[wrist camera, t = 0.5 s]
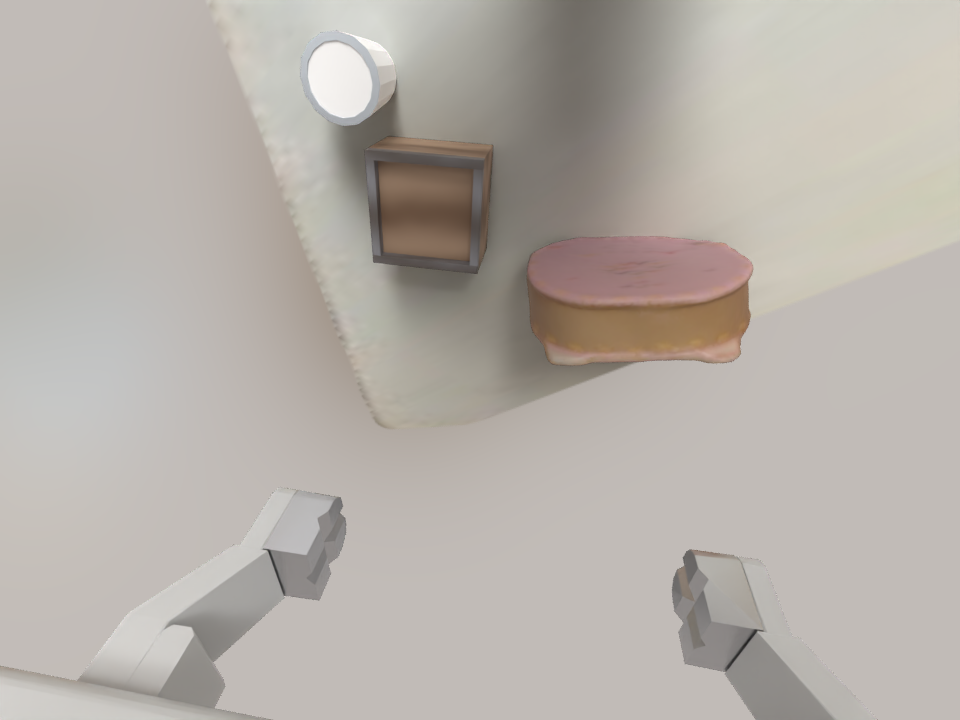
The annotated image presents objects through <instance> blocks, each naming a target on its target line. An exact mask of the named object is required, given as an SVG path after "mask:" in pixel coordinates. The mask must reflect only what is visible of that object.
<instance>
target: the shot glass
mask: <svg viewBox="0 0 960 720" xmlns="http://www.w3.org/2000/svg"><path fill="white" fill-rule="evenodd" d="M300 77H301V81H302V84H303V88H304V92H305V95H306V96H307V98H308V99H309V101H310V103H311V104H312V106H313V107H314V109H315V110H316V111H317V112H318V113H320V114H321V115H322V116H323V117H324V118H325V119H327V120H328V121H330V122H333V123H336V124H339V125H342V126H348V125H358V124H359V123H361V122H362V121H364V120H365V119H367V118H368V117H370V116H371V115H372V114H374V113H375V112H376V111H377V110H378V109H380V108H381V107H382V106H383V105H385V104H386V103H387V102H388V101H389V100H390V98H391V97H392V95H393V93H394V92H395V87H396V81H397V76H396V70H395V65H394V63H393V61H392V59H391V57H390V55H389V53H388V52H387V51H386V50H385V49H384V48H383V47H382V46H381V45H379V44H378V43H376V42H373V41H371V40H368V39H365V38H361V37H358V36H354V35H351V34H348V33H344V32H341V31H337V30H335V31H328V32H321V33H320V34H318V35H317V36H316V37H314V38H313V39H312V40H311V41H309V42H308V44H307V46H306V48H305V51H304V53H303V55H302V57H301V71H300Z"/></svg>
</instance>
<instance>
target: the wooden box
mask: <svg viewBox="0 0 960 720" xmlns="http://www.w3.org/2000/svg"><path fill="white" fill-rule="evenodd" d="M492 154H493V145H486V144H474V143H462V142H451V141H439V140H427V139H415V138H403V137H392V136H388V137H386V138H384V139H383V140H381V141H379V142H377V143H376V144H374V145H372V146H370V147H369V148H367V149H365V163H366V175H367V188H368V201H369V213H370V226H371V238H372V251H373V262H374V263H383V264H392V265H401V266H410V267H419V268H428V269H437V270H447V271H456V272H465V273H474V274H477V273H478V270H479V268H480V265H481V262H482V259H483V257H484V254H485V251H486V248H487V234H488V218H489V202H490V186H491V170H492Z"/></svg>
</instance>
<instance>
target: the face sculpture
mask: <svg viewBox="0 0 960 720" xmlns="http://www.w3.org/2000/svg"><path fill="white" fill-rule="evenodd" d="M752 272H753V265H752V263H751V262H750V260H749V259H748V258H746V257H745V256H743V255H741V254H739V253H738V252H737V251H736V250H734V249H732V248H730V247H729V246H728V245H726V244H725V243H715V242H711V241H707V240H702V241H696V240H690V239H678V238H669V237H655V236H649V237H644V236H636V237H632V236H630V237H600V238H590V237H580V238H574V239H570V240H564V241H560V242H555V243H552V244H549V245H547V246H545V247H543V248H541V249H539V250H537V251H535V252H534V253H532V254H531V256H530V259H529V263H528V268H527V286H528V295H529V304H530V322H531V328H532V331H533V333H534V334H535V336H536V337H537V338H538V339H539V340H540V342H541V343H542V344H543V346H544V348H545V353H546V357H547V359H548V361H549V362H550V363H552V364H554V365H566V366H576V365H585V364H589V363H594V362H607V363H609V362H644V361H655V360H696V361H702V362H706V363H727V362H732V361H734V360H735V359H737V358H738V357H739V356H740V354H741V350H740V345H741V338H742V336H743V334H744V332H745V331H746V329H747V328H748V325H749V322H750V317H751V314H750V311H749V294H748V280H749V279H750V277H751V275H752Z"/></svg>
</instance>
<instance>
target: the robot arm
mask: <svg viewBox="0 0 960 720" xmlns="http://www.w3.org/2000/svg"><path fill="white" fill-rule="evenodd" d="M342 507H343V504H342V500H341V498H340V497H335V496H330V495H324V494H318V493H312V492H306V491H301V490H295V489H288V488H282V487H279V488H278V489H277V490H276V491H274V492H273V493H272V495H271V497H270V498H269V500H268V501H267V503H266V505H265V506H264V508H263V509H262V511H261V512H260V514H259V516H258V517H257V519H256V520H255V522H254V523H253V525H252V526H251V528H250V530H249V531H248V533H247V534H246V536H245V537H244V539H243V541H242V542H241V544H240V545H232V546H231V547H229V548H228V549H226V550H225V551H223V552H222V553H220V554H218V555H217V556H215V557H214V558H212V559H211V560H209V561H208V562H206V563H205V564H203V565H202V566H200V567H198V568H197V569H195V570H194V571H192V572H191V573H189V574H188V575H187V576H185V577H183V578H182V579H180V580H179V581H177V582H175V583H174V584H172V585H171V586H169V587H168V588H166V589H165V590H163V591H162V592H160V593H159V594H157V595H155V596H154V597H152V598H151V599H149V600H148V601H146V602H145V603H143V604H142V605H140V606H139V607H137V608H136V609H134V610H132V611H131V612H129V613H128V614H127V615H126V616H125V618H124V619H123V621H122V622H121V623H120V624H119V626H118V627H117V628H116V630H115V631H114V632H113V634H112V635H111V636H110V638H109V639H108V640H107V642H106V643H105V644H104V646H103V647H102V648H101V650H100V651H99V653H98V654H97V655H96V656H95V658H94V659H93V660H92V662H91V663H90V664H89V666H88V667H87V668H86V670H85V671H84V672H83V674H82V675H81V676H80V678H79V679H78V680H77V681H75V680H69V679H65V678H59V677H54V676H50V675H45V674H40V673H34V672H29V671H24V670H19V669H14V668H9V667H4V666H0V720H271V719H266V718H261V717H255V716H250V715H246V714H240V713H236V712H231V711H225V710H220V709H215V706H216V704H217V702H218V700H219V698H220V696H221V694H222V692H223V690H224V688H225V683H224V679H223V678H222V676H221V674H220V673H219V671H218V670H217V668H216V666H215V665H214V663H213V662H214V661H215V660H216V659H218V657H220V656H221V655H222V654H223V653H224V652H225V651H226V650H228V649H229V648H230V647H231V646H232V645H233V644H234V643H235V642H236V641H237V640H239V639H240V638H241V637H242V636H243V635H244V634H245V633H246V632H247V631H248V630H250V629H251V628H252V627H253V626H254V625H255V624H256V623H257V622H258V621H260V620H261V619H262V618H263V617H264V616H265V615H266V614H267V613H268V612H269V611H270V610H272V609H273V608H274V607H275V606H276V605H277V604H278V603H279V602H281V600H283V599H284V596H291V597H298V598H305V599H312V600H320V598H321V596H322V593H323V591H324V589H325V586H326V584H327V582H328V579H329V577H330V575H331V572H330V568H329V563H330V562H332V561H333V560H335V559H336V558H337V557H338V556H339V554H340V551H341V549H342V547H343V543H344V539H345V535H346V520H345V517H344V516H343V515H342V514H340V511H341V509H342ZM683 561H684V566H683V567H681V568H679V569H677V571H676V574H675V576H674V578H673V587H672V597H673V604H674V611H675V613H676V614H677V615H678V616H679V618H680V619H681V620H682V621H683V625H682V627H681V629H680V631H679V637H680V642H681V647H682V652H683V657H684V662H685V664H688V665H693V666H698V667H703V668H709V669H713V670H718V671H723V672H726V673H725V675H726V677H727V678H728V679H729V681H730V682H731V684H732V685H733V687H734V688H735V690H736V691H737V693H738V694H739V696H740V697H741V698H742V700H743V702H744V703H745V704H746V706H747V708H748V709H749V710H750V712H751V713H752V715H753V716H754V718H755V719H756V720H878V719H877V718H876V717H875V716H874V715H873V714H872V713H871V712H870V711H869V710H868V709H867V708H866V707H865V706H864V705H863V704H862V703H861V702H860V701H859V699H858V698H857V697H856V696H855V695H854V694H853V693H852V692H851V691H850V690H849V689H848V688H847V687H846V686H845V685H844V684H843V683H842V682H841V681H840V680H839V679H838V677H837V676H836V675H835V674H834V673H833V672H832V671H831V670H830V669H829V668H828V667H827V666H826V665H825V664H824V663H823V662H822V661H821V660H820V659H819V658H818V657H817V655H816V654H815V653H814V652H813V651H812V650H811V649H810V648H809V647H808V646H807V645H806V644H805V643H804V642H803V641H802V640H801V639H800V638H797V637H793V636H792V634H791V632H790V629H789V627H788V624H787V621H786V619H785V616H784V613H783V611H782V608H781V606H780V603H779V601H778V598H777V595H776V592H775V590H774V587H773V585H772V582H771V580H770V577H769V574H768V572H767V569H766V566H765V565H764V563H763V562H761V560H758V559H752V558H744V557H736V556H734V555H727V554H720V553H713V552H706V551H698V550H688V551H686V553H685V555H684V557H683Z"/></svg>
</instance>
